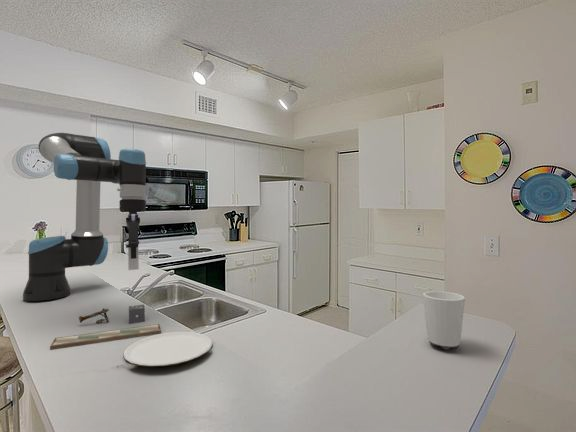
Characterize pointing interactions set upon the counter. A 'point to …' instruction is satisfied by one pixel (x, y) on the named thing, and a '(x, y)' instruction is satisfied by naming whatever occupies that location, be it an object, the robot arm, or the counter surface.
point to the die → (136, 314)
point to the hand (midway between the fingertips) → (133, 266)
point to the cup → (444, 318)
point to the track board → (105, 336)
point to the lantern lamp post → (96, 315)
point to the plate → (168, 349)
